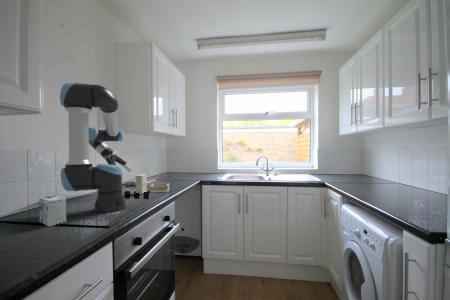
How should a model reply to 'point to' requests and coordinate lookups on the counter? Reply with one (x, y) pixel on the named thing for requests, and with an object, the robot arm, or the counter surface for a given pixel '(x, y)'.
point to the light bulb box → (52, 210)
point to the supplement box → (141, 183)
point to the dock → (159, 187)
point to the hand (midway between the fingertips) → (127, 172)
